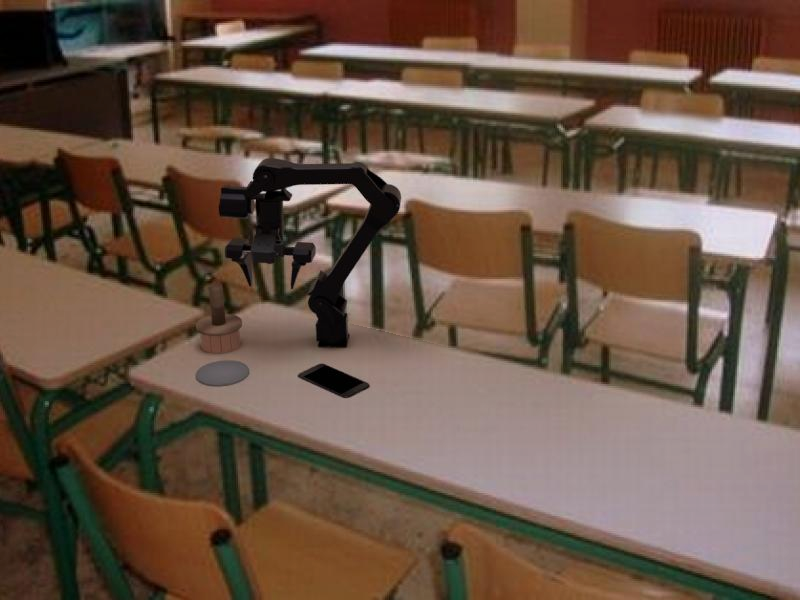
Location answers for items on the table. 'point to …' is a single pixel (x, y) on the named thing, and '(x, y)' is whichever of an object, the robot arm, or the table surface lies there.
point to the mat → (222, 373)
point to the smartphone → (334, 380)
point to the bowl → (220, 342)
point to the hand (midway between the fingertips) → (271, 287)
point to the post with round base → (218, 316)
